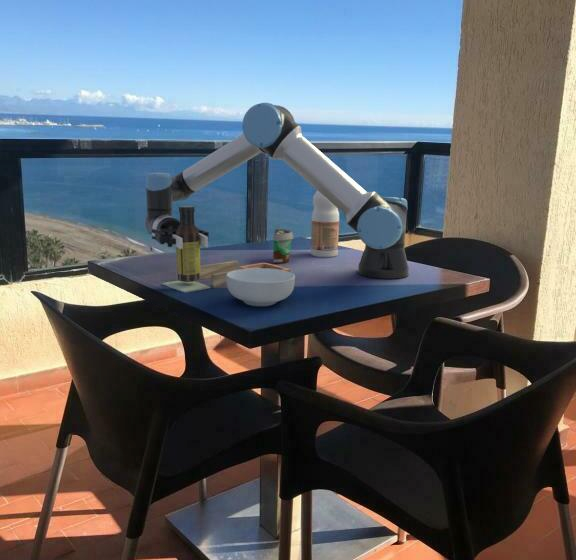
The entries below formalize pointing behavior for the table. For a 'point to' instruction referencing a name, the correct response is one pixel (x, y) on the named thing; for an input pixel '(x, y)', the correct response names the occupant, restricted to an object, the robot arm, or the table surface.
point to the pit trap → (265, 266)
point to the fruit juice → (324, 227)
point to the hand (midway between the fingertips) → (194, 242)
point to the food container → (282, 246)
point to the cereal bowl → (260, 285)
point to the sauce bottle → (188, 246)
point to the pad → (186, 286)
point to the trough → (218, 272)
